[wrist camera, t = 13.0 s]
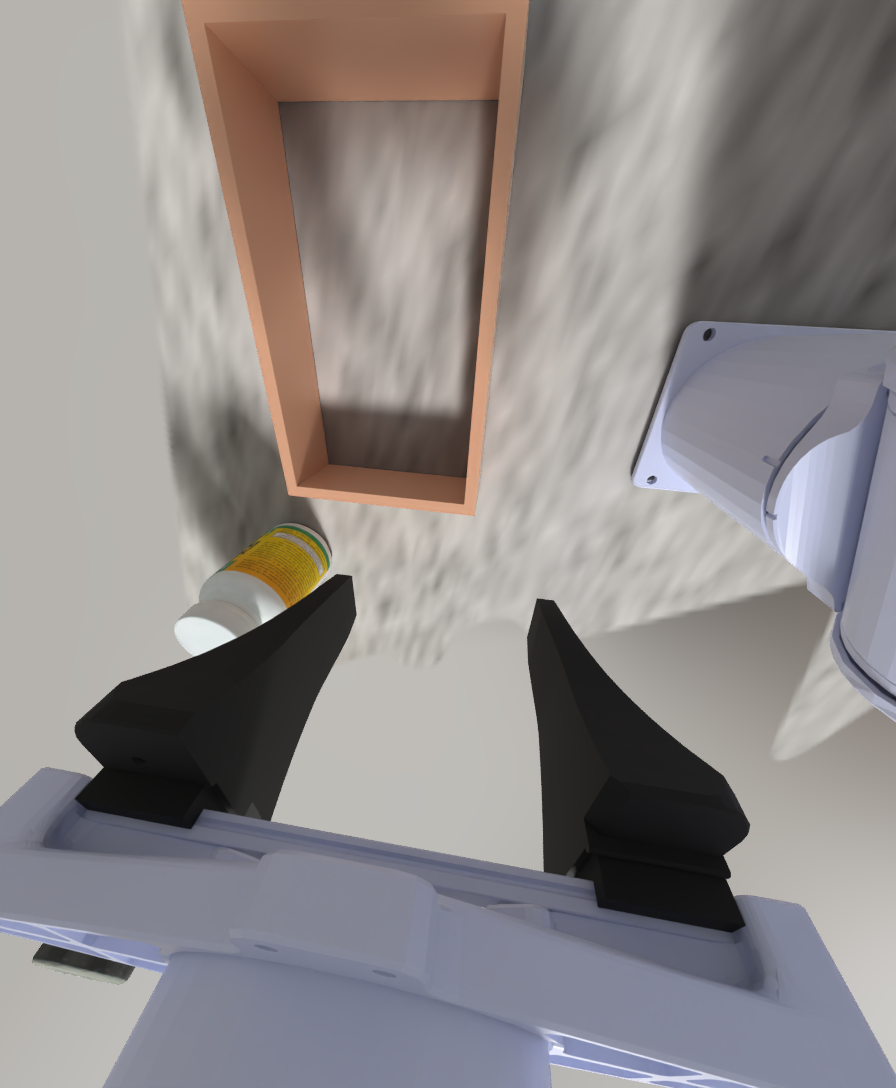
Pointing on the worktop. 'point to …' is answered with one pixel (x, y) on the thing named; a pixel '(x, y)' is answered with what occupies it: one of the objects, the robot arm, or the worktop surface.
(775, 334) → the robot arm
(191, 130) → the worktop surface
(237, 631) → the supplement bottle
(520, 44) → the peach storage tray
